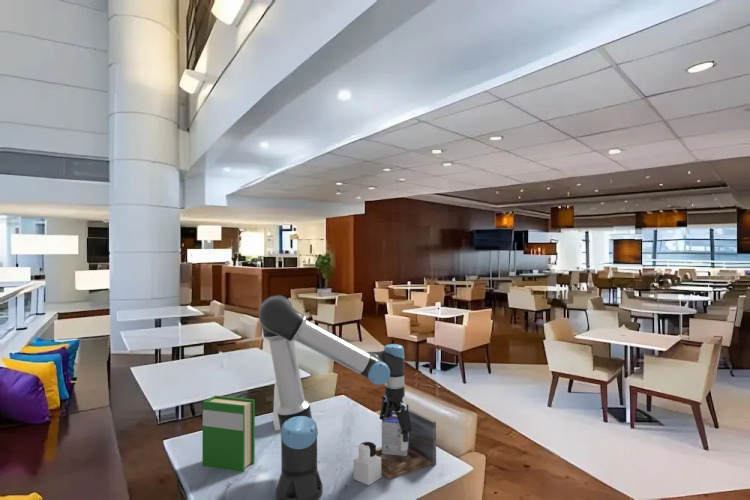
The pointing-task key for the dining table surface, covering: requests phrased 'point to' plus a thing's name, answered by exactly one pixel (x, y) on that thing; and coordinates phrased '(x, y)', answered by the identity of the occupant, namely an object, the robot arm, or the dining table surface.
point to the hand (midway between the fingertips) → (395, 444)
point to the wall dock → (412, 449)
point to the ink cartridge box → (392, 436)
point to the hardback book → (228, 433)
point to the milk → (276, 408)
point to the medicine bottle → (367, 464)
